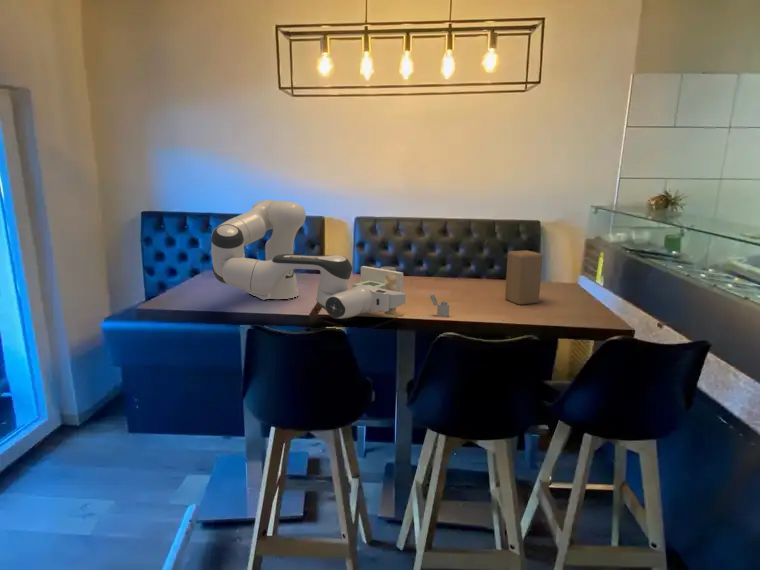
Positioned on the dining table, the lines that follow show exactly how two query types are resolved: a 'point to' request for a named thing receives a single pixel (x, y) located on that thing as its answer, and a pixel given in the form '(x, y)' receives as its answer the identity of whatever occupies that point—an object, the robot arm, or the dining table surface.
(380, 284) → the green square bin
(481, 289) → the dining table surface
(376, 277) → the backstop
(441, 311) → the lighter
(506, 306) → the dining table surface
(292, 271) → the robot arm
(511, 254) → the wooden block
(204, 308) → the dining table surface
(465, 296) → the dining table surface
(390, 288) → the dowel
